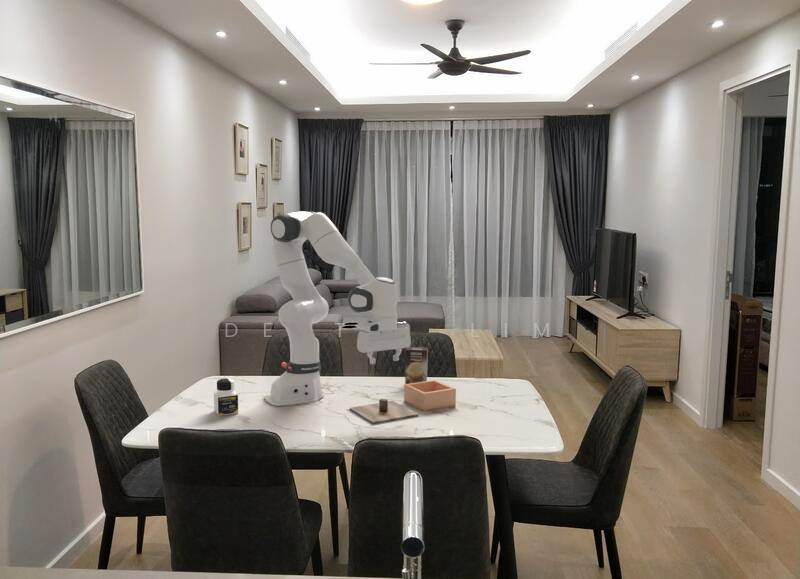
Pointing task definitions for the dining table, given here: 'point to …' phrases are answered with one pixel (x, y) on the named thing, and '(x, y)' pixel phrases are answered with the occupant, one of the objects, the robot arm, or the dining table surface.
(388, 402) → the walnut lid
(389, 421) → the slate mat
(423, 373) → the coffee box
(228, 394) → the medicine bottle
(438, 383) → the terracotta open box
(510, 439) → the dining table surface
